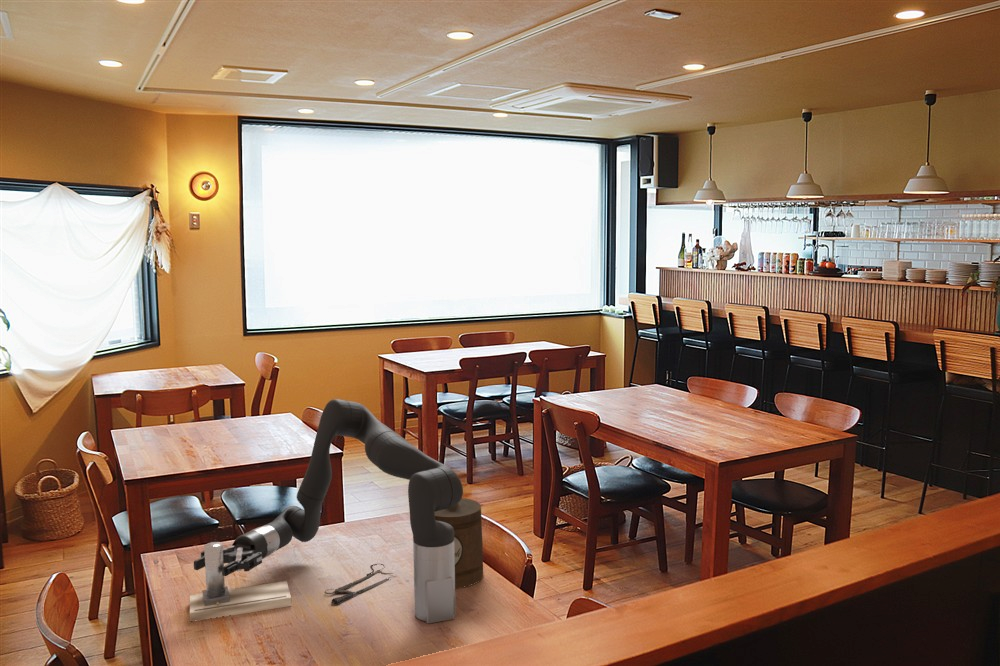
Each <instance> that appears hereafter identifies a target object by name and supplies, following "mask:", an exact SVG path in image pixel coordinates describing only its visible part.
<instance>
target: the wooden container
mask: <svg viewBox="0 0 1000 666" xmlns="http://www.w3.org/2000/svg"><path fill="white" fill-rule="evenodd" d="M481 506H482V505H481V504H480V503H479V502H478V501H476V500H474V499H471V498H466V497H465V498H464V497H462V498H461V500H460V502H459V503H458V504H456V505H454V506H452V507H450V508H447V509H443V510H439V511H435V520H436V521H442V522H446V523H448V524H450V525H451V526H452V527H453V528H454V555H455V589H458V588H459V587H462V588H465V587H464V586H467V587H470V586H472V585H471V584H473V585H475V584H477V583H479V582H481V580H482V579H483V576H484V547H483V546H484V545H483V544H484V543H483V527H482V526H483V525H482V524H483V523H482V507H481ZM478 581H479V582H478ZM476 582H477V583H476ZM474 583H475V584H474ZM469 585H470V586H469Z"/></svg>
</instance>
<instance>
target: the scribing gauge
mask: <svg viewBox="0 0 1000 666" xmlns="http://www.w3.org/2000/svg"><path fill="white" fill-rule="evenodd" d="M223 544H224V543H222V541H221V542H220V541H211V542H208V543H206V544H204V547H203V548H204V549H203V551H205V567H204V569H205V584H206V585H205V586H206V589H204V590H202V593H203V601H204V605H205V606H209V605H215V604H217V605H219V604H221V603H226V602H230V595H229V591H228V590H229V589H228V586H226V584H225V576H223V575H222V567H223V566H225V565H224V561H223V548H224V545H223ZM202 593H201V594H202Z"/></svg>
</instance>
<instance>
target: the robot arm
mask: <svg viewBox="0 0 1000 666" xmlns="http://www.w3.org/2000/svg"><path fill="white" fill-rule="evenodd" d="M315 434H316V435H315V438H314V442H313V447H312V451H311V456H310V459H309V463H308V465H307V469H306V471H305V474H304V477H303V478H302V481H301V483H300V486H299V488H298V490H297V492H296V493H297V494H296V500H297V502H298V503H299V505H301V507H302V508H301V507H299V506H298V505H290V506H287V507H286V508H285V509H284V510H282V512H281V513H280V514H279V515H278V516H277V517H276V518H275V519H274V520H272V521H271V522H269V523H266V524H264V525H262V526H258V527H256V528H253V529H251V530H250V531H247V532H245V533H243V534H241V535H239V536H237V537H236V538H235V539H234V541H233V543H232V544H231V545H229V546H226V547H223V561H224V564H225V565H224V566H223V567H222V575H223V576H224V577H227V576H229V575H231V574H233V573H234V572H241V571H242V570H243V572H249V571H251V570H252V569H254V568H256V567H257V566H260V565H261V564H262V563H263V559H265V558H267V557H269V556H270V555H272V554H273V553H275V552H276V551H278V550H280V549H282V548H284V547H286V546H287V545H288V544H289V543H291V541H292V539H293V538H295V539H296V540H298V541H299V542H301V543H307V542H310V541H311V540H312V539H314V538H315V536H316V535H317V534H318V531H319V528H320V524H321V515H322V508H323V502H324V500H325V497H326V495H327V492H328V490H329V488H330V486H331V485H330V484H331V482H332V477H333V469H332V462H331V456H330V449H331V445H332V442H333V441H334V438H335V436H339V437H340V436H341V437H347V438H352V439H355V440H357V441H359V442H361V443H362V444H364V452H365V454H366V457H367V459H368V460H369V461H370V462H371V463H372V464H373V466H376V467H377V468H378V469H379V470H380V471H382V472H383V473H385V474H387V475H390V476H393V477H396V478H401V479H403V480H407V481H408V487H407V493H408V495H407V496H408V509H409V523H410V527H411V532H412V541H413V542H412V543H413V544H412V547H413V548H412V549H413V550H412V551H413V553H412V554H413V556H412V557H413V587H414V588H413V593H414V598H413V599H414V615H415V617H416V618H417V619H418V620H420V621H424V622H426V624H433V623H438V622H445V621H450V620H454V619H455V615H456V613H457V612H456V588H455V555H454V528H453V527H452V526H451V525H450V524H448V523H446V522H442V521H436V520H435V511H439V510H443V509H447V508H450V507H452V506H454V505H456V504H458V503H459V502H460V500H461V498H463V496H464V487H463V484H462V481H461V479H460V477H459V475H458V474H457V473H456V472H455V470H453V469H452V468H450V467H449V466H447V465H445V464H444V463H442V462H439V460H436V459H434V458H432V457H431V456H429V455H427V454H426V453H425V452H423V451H421V450H420V449H418V448H417V447H416V446H415V445H413V444H411V443H410V442H409V441H408V440H406V439H405V438H404V437H403V436H401V435H400V434H399V433H397V432H396V431H394V430H393V429H392V428H390V427H388V426H387V424H385V423H383V422H381V421H380V420H379V419H378V418H377V417H376V416H375V415H374V414H373V413H372V412H371V411H370V409H368V408H367V407H366V406H365V405H363V404H362V403H359V402H356V401H351V400H347V399H339V398H334V399H331V400H328V402H327V403H326V404H325V406H324V408H323V411H322V413H321V416H320V419H319V423H318V427H317V431H316V433H315ZM203 568H205V551H204V550H202V551H200V558H198V559H195V560H194V561H193V570H195V571H199V570H201V569H203Z"/></svg>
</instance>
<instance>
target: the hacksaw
mask: <svg viewBox="0 0 1000 666" xmlns="http://www.w3.org/2000/svg"><path fill="white" fill-rule="evenodd" d="M377 564H378V563H374V564H372V565H370V569H371V572H369V573H367V574H366V576H364V577H361V578H359V579H357V580H354V581H353V582H350V583H348V584H345V585H342V586H340V587H338V588H336V589H334V591H332V592H328V591H331V590H333V588H331V589H327V590H325V591H324V594H327V595H333V594H345V595H341V596H338V597H334V598H332V599H331V601H330V604H333V605H340V604H341V603H343V602H345V601H347V600H349V599H351V598H353V596H354V597H356V596H357V594H361V593H363V592H366V591H367V590H371V589H372V588H374V587H376V586H379V585H382V584H383V583H385V582H388V581H390V580H389V579H387V578H385V579H382V580H381V581H378V582H376V583H373V584H371V585H368V586H365V587H364V588H361V589H359V590H357V591H352V590H347V589H349V588H352V587H353V586H356V585H357V584H361V583H362V582H364V581H366V580H368V579H369V578H371V577H374V576H375V575H377V574H380V573H381V574H380V575H387V574H393V573H392V572H391V573H390V572H383V571H382V570H383V569H384V568H383V567H384V565H385V564H383V563H380V564H381V565H380V566H383V567H382V568H381V569H377V570H376V571H375V570H374V568H373V567H374V566H377ZM373 565H374V566H373ZM372 570H373V571H372ZM380 570H381V571H380ZM371 573H372V574H371ZM355 595H356V596H355Z"/></svg>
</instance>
